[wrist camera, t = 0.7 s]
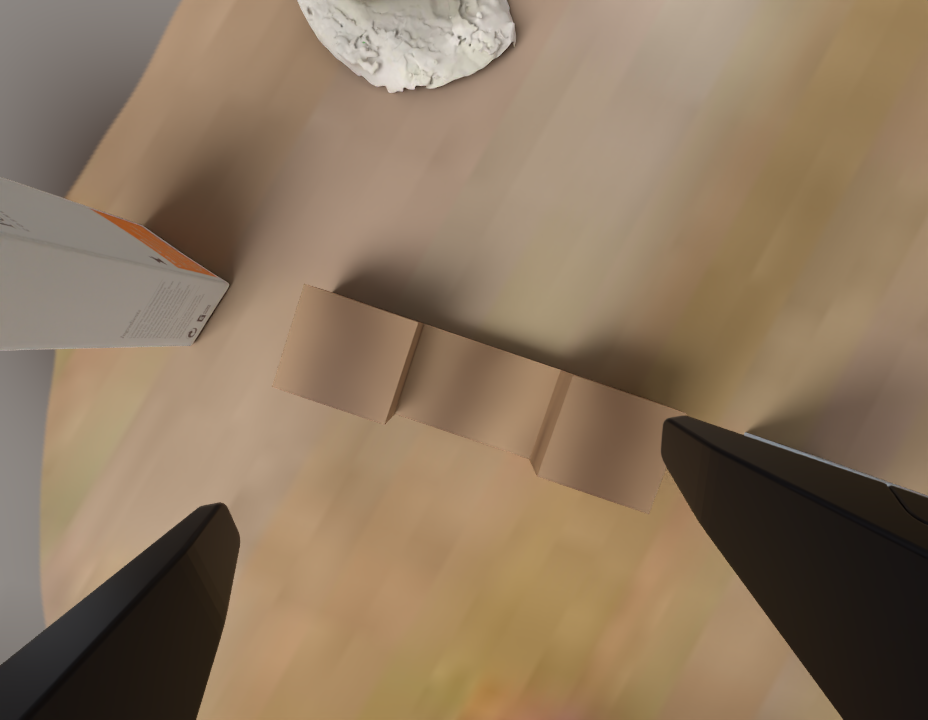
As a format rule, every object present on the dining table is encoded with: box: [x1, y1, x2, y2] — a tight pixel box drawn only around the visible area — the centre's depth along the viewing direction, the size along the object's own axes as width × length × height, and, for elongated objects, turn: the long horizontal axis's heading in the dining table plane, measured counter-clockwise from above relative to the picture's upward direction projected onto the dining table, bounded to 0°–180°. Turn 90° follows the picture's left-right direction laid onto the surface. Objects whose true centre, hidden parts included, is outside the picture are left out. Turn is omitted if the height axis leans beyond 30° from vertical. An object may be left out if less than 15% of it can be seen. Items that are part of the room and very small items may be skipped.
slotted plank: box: [272, 284, 687, 514], centre depth 22 cm, size 18×5×4 cm, turn 71°
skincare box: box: [0, 177, 229, 350], centre depth 18 cm, size 6×4×12 cm
